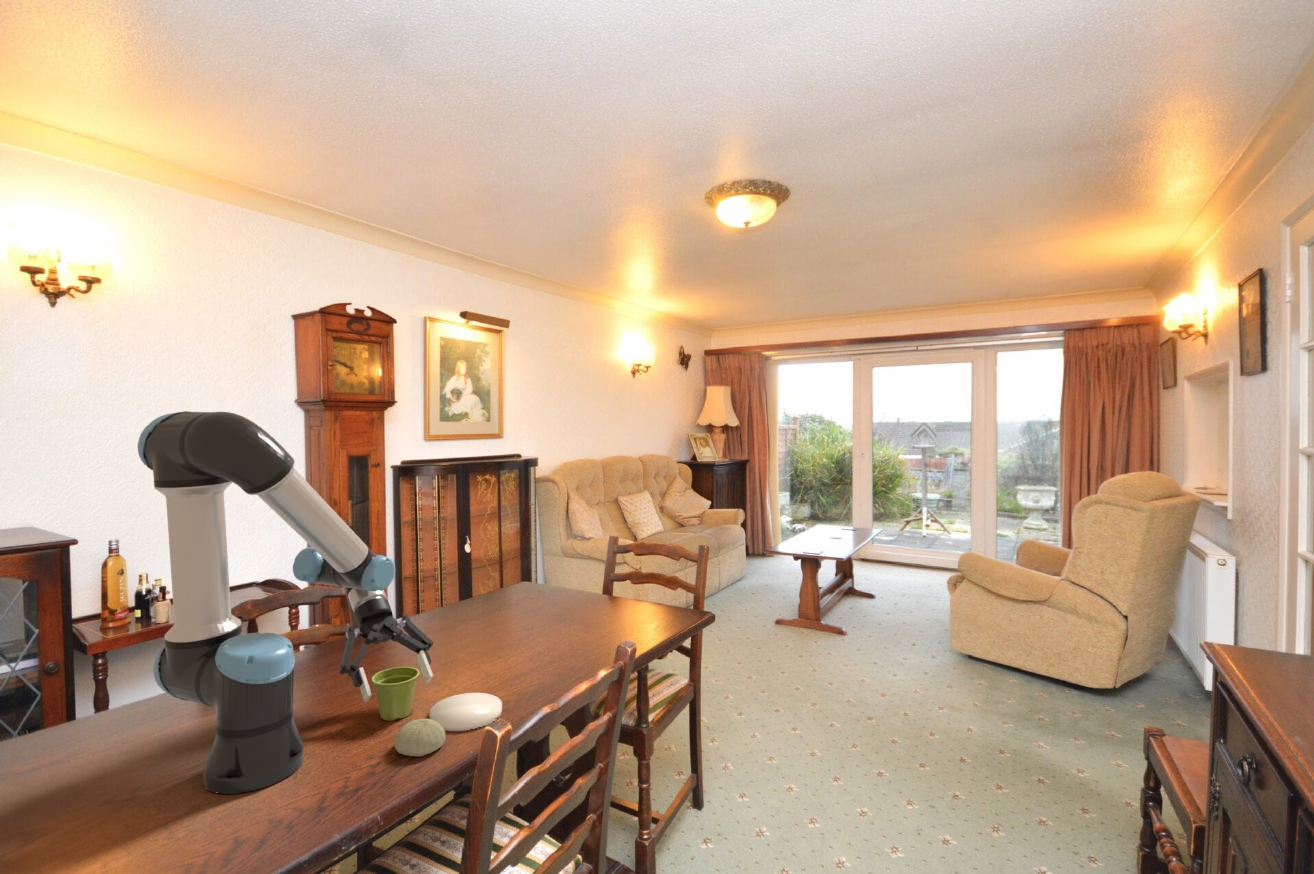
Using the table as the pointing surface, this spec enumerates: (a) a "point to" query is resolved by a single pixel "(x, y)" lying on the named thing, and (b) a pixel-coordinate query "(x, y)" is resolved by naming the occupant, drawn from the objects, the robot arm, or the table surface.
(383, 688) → the plant pot
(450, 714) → the white flat rounded piece
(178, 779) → the table surface
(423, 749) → the sea urchin shell
